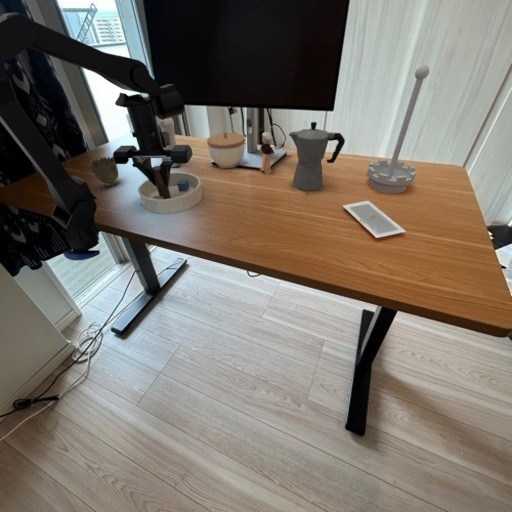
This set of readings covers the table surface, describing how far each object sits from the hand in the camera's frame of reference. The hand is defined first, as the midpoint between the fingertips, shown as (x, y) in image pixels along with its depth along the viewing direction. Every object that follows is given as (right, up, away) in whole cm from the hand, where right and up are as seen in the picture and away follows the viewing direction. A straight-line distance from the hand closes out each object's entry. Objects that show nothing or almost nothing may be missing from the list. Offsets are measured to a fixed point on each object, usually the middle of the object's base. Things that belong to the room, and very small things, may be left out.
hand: (162, 185), depth 74 cm
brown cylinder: (0, -3, +3) cm, 4 cm away
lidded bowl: (+16, +13, +23) cm, 31 cm away
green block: (-1, -5, +1) cm, 6 cm away
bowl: (+1, -3, +5) cm, 6 cm away
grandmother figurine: (+29, +9, +18) cm, 36 cm away
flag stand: (+66, +2, +8) cm, 66 cm away
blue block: (+4, +1, +9) cm, 9 cm away
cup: (-21, +3, +13) cm, 25 cm away
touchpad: (+55, -11, -6) cm, 56 cm away
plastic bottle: (-4, +13, +24) cm, 28 cm away
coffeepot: (+43, +3, +10) cm, 44 cm away
